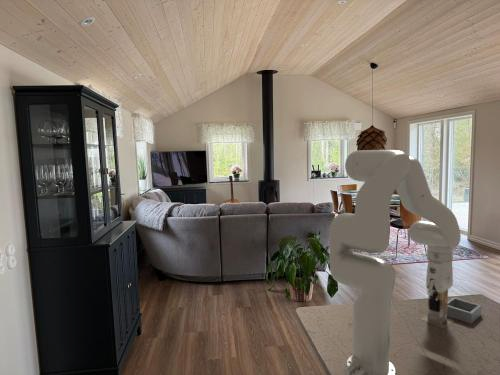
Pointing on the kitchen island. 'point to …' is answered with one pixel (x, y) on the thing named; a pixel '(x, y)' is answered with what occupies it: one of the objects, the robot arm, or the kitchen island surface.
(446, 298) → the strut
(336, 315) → the kitchen island surface
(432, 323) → the stud plate
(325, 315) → the kitchen island surface
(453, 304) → the bin
